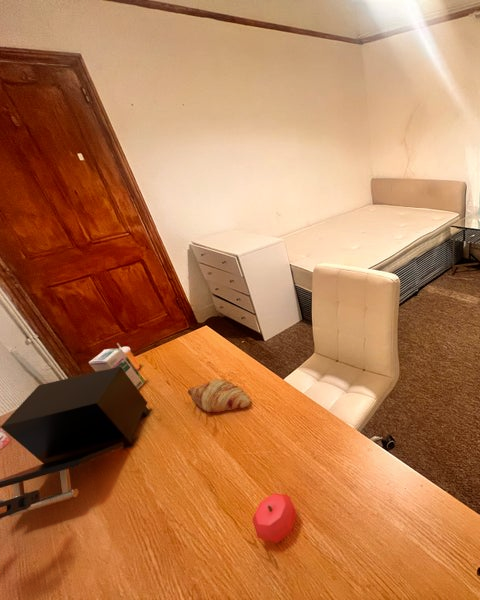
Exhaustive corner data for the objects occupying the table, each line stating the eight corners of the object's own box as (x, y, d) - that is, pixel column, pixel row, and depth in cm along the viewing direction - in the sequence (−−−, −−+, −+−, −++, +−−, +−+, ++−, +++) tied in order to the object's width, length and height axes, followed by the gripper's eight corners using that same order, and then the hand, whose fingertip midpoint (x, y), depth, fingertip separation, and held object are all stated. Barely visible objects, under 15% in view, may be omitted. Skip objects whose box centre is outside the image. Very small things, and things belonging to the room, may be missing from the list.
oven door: (127, 471, 77) (83, 496, 64) (45, 496, 73) (-21, 528, 60) (123, 441, 78) (78, 459, 64) (41, 464, 74) (-24, 488, 61)
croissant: (261, 406, 93) (261, 380, 92) (236, 421, 83) (237, 393, 83) (202, 396, 98) (203, 371, 97) (172, 409, 88) (173, 382, 87)
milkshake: (140, 361, 110) (125, 339, 105) (143, 368, 107) (127, 346, 101) (125, 368, 107) (108, 346, 102) (127, 376, 104) (110, 353, 99)
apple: (281, 497, 67) (271, 477, 63) (308, 516, 64) (298, 496, 59) (250, 534, 61) (236, 515, 57) (277, 558, 58) (265, 539, 54)
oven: (134, 446, 80) (96, 402, 72) (51, 470, 76) (-1, 427, 67) (151, 408, 91) (120, 366, 82) (79, 427, 87) (38, 385, 78)
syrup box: (133, 395, 96) (106, 360, 88) (115, 396, 96) (87, 361, 89) (146, 381, 101) (122, 347, 93) (128, 382, 101) (103, 348, 94)
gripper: (-45, 499, 45) (54, 470, 60) (-180, 538, 42) (-39, 496, 57) (-48, 557, 43) (55, 511, 59) (-188, 601, 40) (-40, 541, 55)
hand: (9, 504), depth 58 cm, fingers open, 8 cm apart
